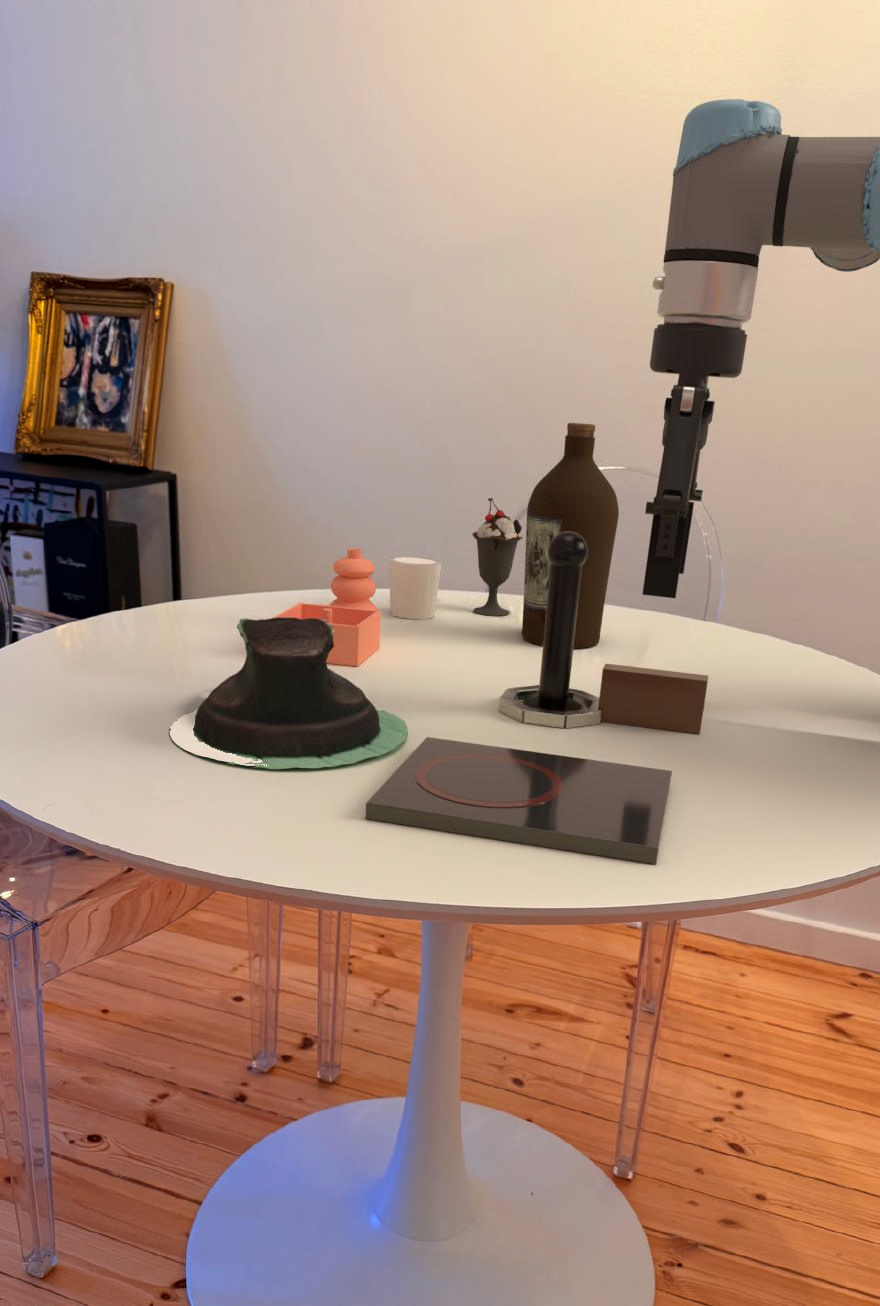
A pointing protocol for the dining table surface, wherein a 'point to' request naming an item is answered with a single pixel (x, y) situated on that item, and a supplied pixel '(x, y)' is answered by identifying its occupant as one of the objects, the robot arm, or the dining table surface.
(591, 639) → the olive oil
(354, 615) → the pottery
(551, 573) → the black knobbed post
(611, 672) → the ring with block handle
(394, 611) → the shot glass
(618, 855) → the stove
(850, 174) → the robot arm
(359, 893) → the dining table surface
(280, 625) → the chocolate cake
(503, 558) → the sundae
